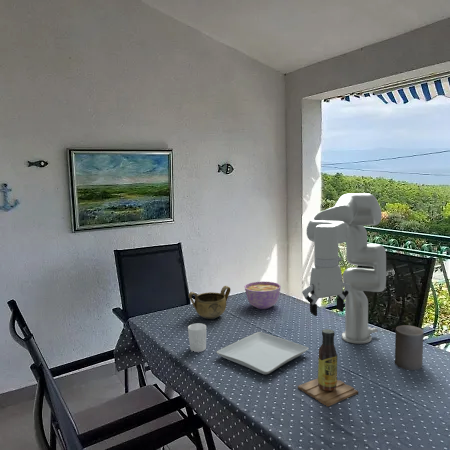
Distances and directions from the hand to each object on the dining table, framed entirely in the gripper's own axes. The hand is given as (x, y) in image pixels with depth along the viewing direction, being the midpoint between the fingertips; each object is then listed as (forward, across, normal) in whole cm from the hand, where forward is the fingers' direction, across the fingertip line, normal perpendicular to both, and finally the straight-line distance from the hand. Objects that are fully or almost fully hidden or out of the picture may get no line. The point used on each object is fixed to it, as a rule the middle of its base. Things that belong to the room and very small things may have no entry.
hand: (327, 312), depth 138 cm
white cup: (+28, +35, -48) cm, 66 cm away
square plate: (+28, +12, -31) cm, 44 cm away
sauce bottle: (+26, 0, 0) cm, 27 cm away
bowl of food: (+29, -11, -89) cm, 95 cm away
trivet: (+27, +1, +1) cm, 27 cm away
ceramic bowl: (+28, +20, -84) cm, 91 cm away
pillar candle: (+28, -37, -5) cm, 47 cm away
